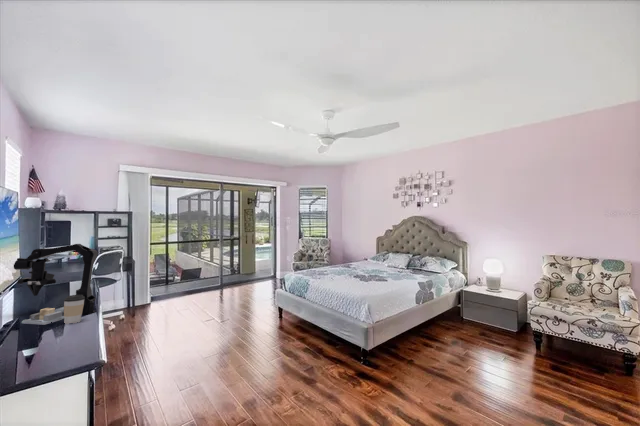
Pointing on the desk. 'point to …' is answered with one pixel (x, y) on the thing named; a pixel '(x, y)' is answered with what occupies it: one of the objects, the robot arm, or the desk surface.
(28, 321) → the vise bed
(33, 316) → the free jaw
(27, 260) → the robot arm
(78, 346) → the desk surface
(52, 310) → the maple block
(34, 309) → the desk surface
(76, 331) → the desk surface
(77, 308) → the coffee cup
